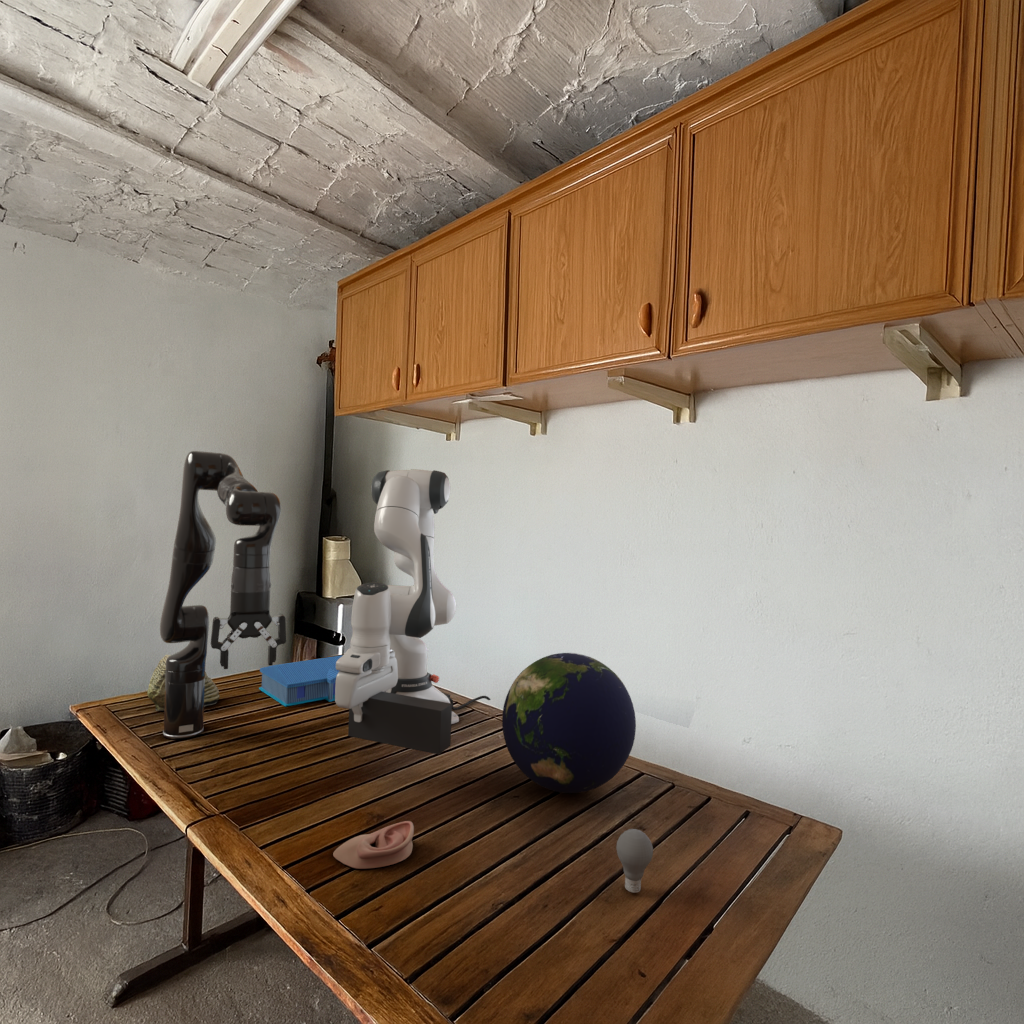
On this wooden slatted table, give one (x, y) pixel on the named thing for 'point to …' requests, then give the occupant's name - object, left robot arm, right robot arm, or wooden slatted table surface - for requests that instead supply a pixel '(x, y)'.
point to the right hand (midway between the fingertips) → (367, 716)
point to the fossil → (158, 687)
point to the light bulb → (634, 857)
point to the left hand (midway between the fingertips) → (248, 666)
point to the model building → (301, 681)
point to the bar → (404, 722)
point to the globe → (569, 723)
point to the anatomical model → (378, 847)
